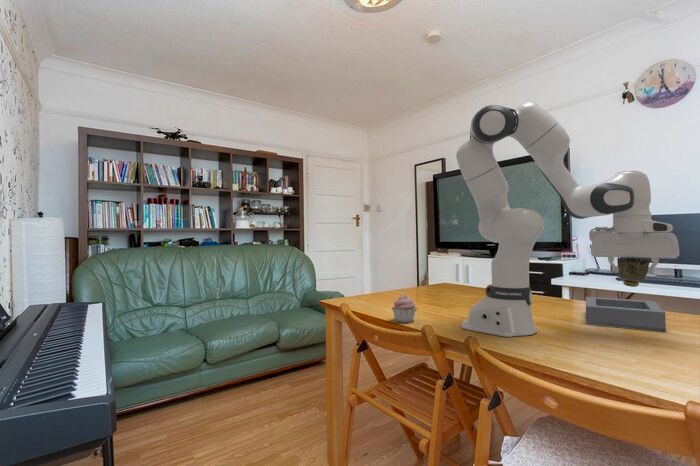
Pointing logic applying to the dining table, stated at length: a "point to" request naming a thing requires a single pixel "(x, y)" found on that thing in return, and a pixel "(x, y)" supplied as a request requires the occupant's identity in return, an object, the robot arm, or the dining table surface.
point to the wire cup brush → (632, 270)
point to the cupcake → (404, 309)
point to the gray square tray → (625, 314)
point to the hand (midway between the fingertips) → (632, 273)
